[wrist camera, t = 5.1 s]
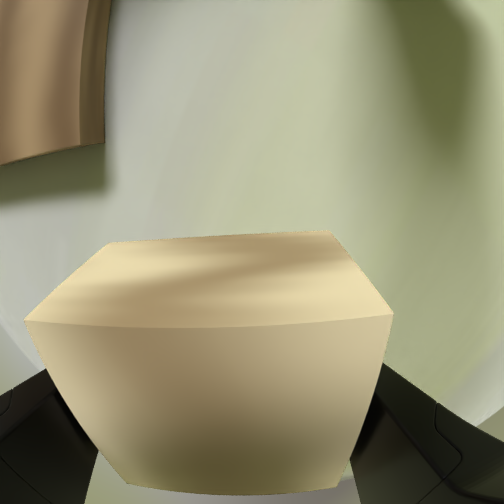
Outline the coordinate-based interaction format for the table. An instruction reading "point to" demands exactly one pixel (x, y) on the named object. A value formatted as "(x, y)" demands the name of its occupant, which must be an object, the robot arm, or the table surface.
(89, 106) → the walnut base
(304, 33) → the table surface
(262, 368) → the maple block
